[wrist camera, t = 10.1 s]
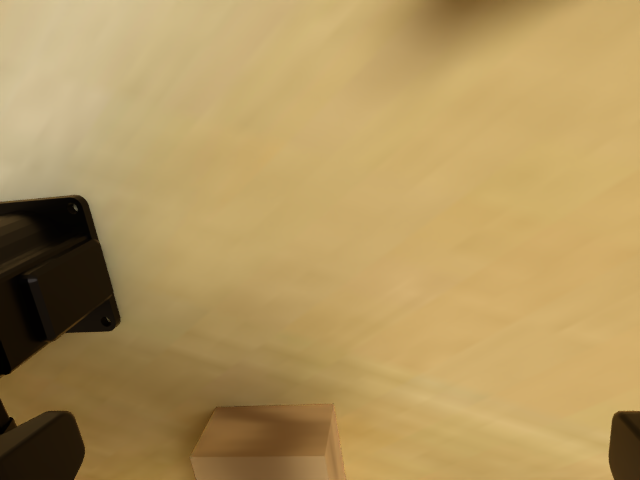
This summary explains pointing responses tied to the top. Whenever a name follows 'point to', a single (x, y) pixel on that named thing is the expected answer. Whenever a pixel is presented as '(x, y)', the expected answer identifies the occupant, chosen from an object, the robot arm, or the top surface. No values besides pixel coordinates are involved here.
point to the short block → (270, 444)
